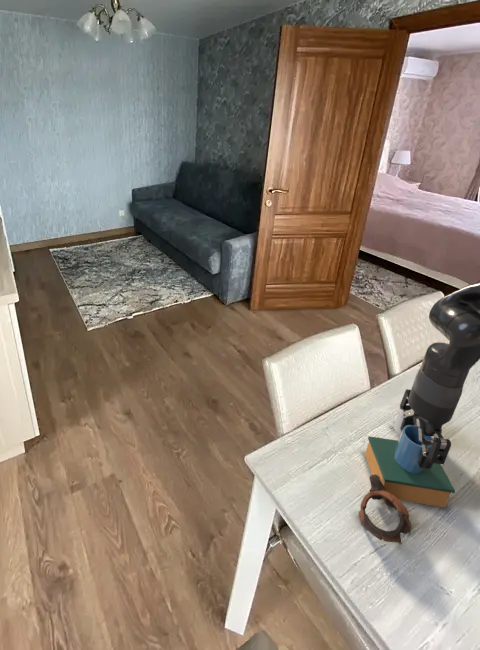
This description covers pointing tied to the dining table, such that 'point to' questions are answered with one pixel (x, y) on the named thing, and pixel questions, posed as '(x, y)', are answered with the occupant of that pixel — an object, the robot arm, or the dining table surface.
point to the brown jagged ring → (392, 501)
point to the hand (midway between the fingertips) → (413, 448)
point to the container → (407, 476)
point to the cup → (410, 449)
